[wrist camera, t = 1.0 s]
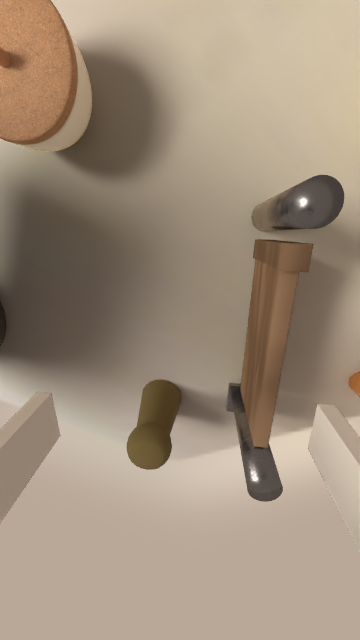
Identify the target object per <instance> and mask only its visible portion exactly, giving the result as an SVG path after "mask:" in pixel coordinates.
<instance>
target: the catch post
mask: <svg viewBox="0 0 360 640" xmlns="http://www.w3.org/2000/svg"><path fill="white" fill-rule="evenodd" d="M349 385H350V387H351V388H352V389H353V390H354V391H355V392H356V393H357V394H358V395H359V397H360V372H358V373H356V374H354V375H353V376H352V377H351V378H350V380H349Z"/></svg>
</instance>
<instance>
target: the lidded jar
mask: <svg viewBox="0 0 360 640" xmlns="http://www.w3.org/2000/svg"><path fill="white" fill-rule="evenodd" d="M91 111H92V91H91V83H90V79H89V75H88V71H87V68H86V65H85V63H84V60H83V57H82V55H81V53H80V51H79V48H78V46H77V45H76V43H75V41H74V39H73V37H72V35H71V34H70V32H69V30H68V29H67V27H66V25H65V23H64V21H63V19H62V17H61V15H60V14H59V12H58V10H57V9H56V7H55V6H54V5H53V3H52V2H51V0H0V138H1V139H3V140H5V141H8V142H12V143H15V144H17V145H20V146H22V147H26V148H29V149H33V150H36V151H45V152H54V151H59V150H63V149H66V148H68V147H70V146H72V145H73V144H74V143H76V142H77V141H78V140H79V139H80V138H81V136H82V135H83V133H84V132H85V130H86V128H87V126H88V123H89V120H90V116H91Z"/></svg>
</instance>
